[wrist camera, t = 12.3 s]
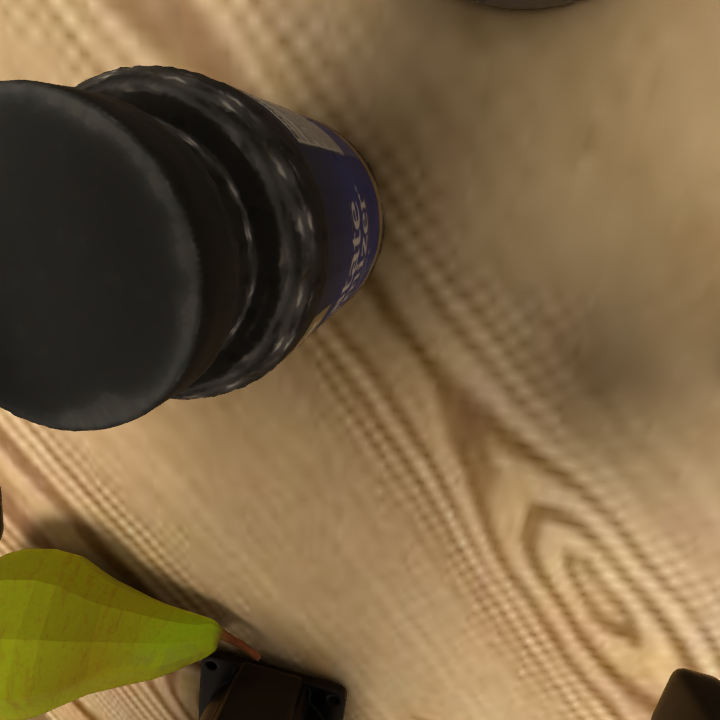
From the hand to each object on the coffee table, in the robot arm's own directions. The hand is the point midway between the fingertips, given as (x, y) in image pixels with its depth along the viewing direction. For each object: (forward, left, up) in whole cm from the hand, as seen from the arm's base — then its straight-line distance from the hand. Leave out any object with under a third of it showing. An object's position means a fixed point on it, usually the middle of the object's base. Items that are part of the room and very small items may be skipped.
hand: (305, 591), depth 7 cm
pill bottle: (+3, +4, -12) cm, 13 cm away
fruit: (-13, +15, -7) cm, 22 cm away
